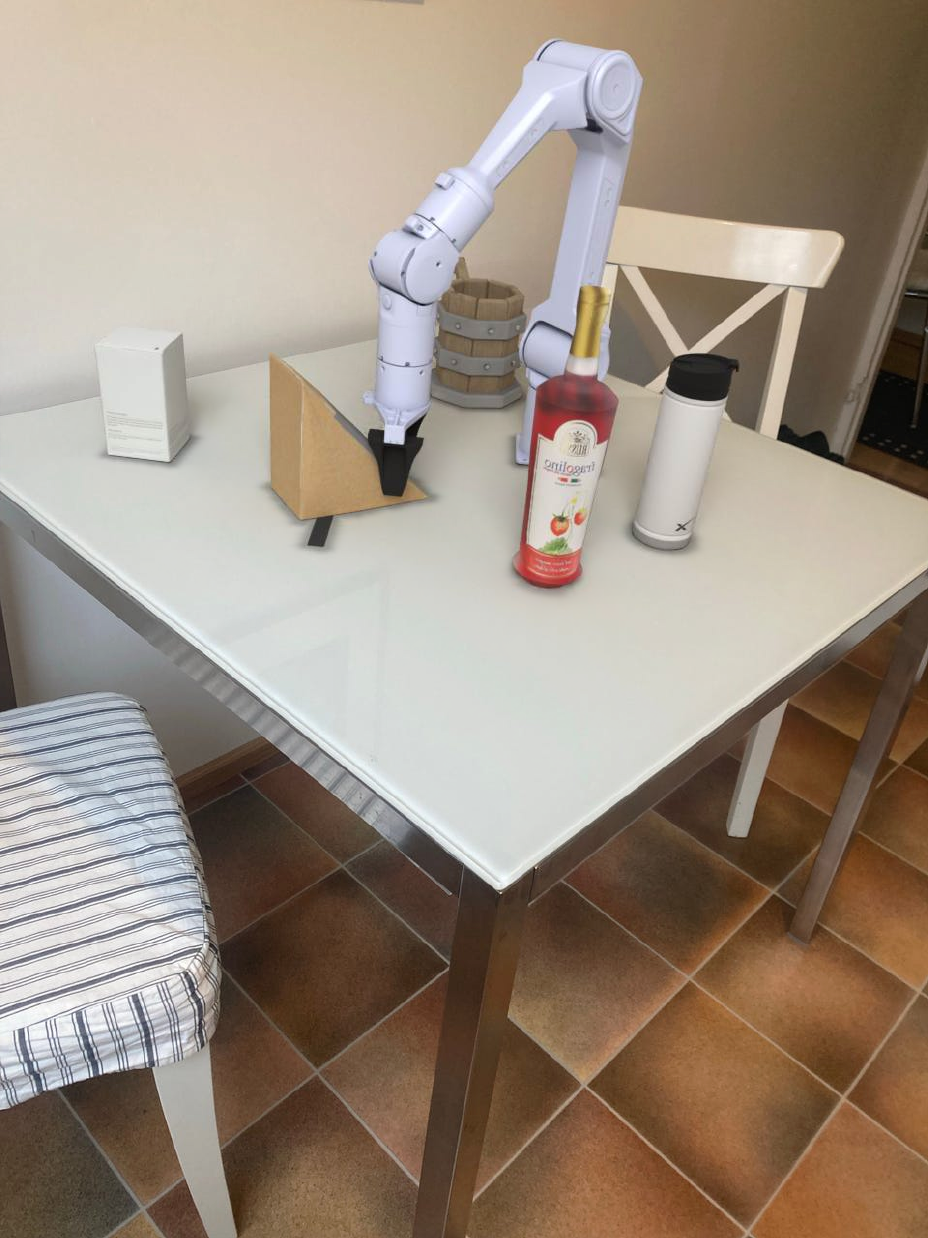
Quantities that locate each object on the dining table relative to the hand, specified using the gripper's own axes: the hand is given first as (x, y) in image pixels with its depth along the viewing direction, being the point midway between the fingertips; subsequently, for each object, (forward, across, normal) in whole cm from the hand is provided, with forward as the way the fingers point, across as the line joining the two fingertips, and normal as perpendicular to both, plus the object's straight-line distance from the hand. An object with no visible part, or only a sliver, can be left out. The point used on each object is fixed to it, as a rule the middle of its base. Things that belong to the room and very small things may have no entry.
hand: (396, 478), depth 108 cm
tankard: (+2, -37, +6) cm, 38 cm away
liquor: (+2, +14, +16) cm, 22 cm away
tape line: (+2, +1, -7) cm, 7 cm away
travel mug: (+2, +3, +29) cm, 30 cm away
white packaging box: (+2, -5, -29) cm, 29 cm away
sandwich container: (+2, +1, -5) cm, 5 cm away
